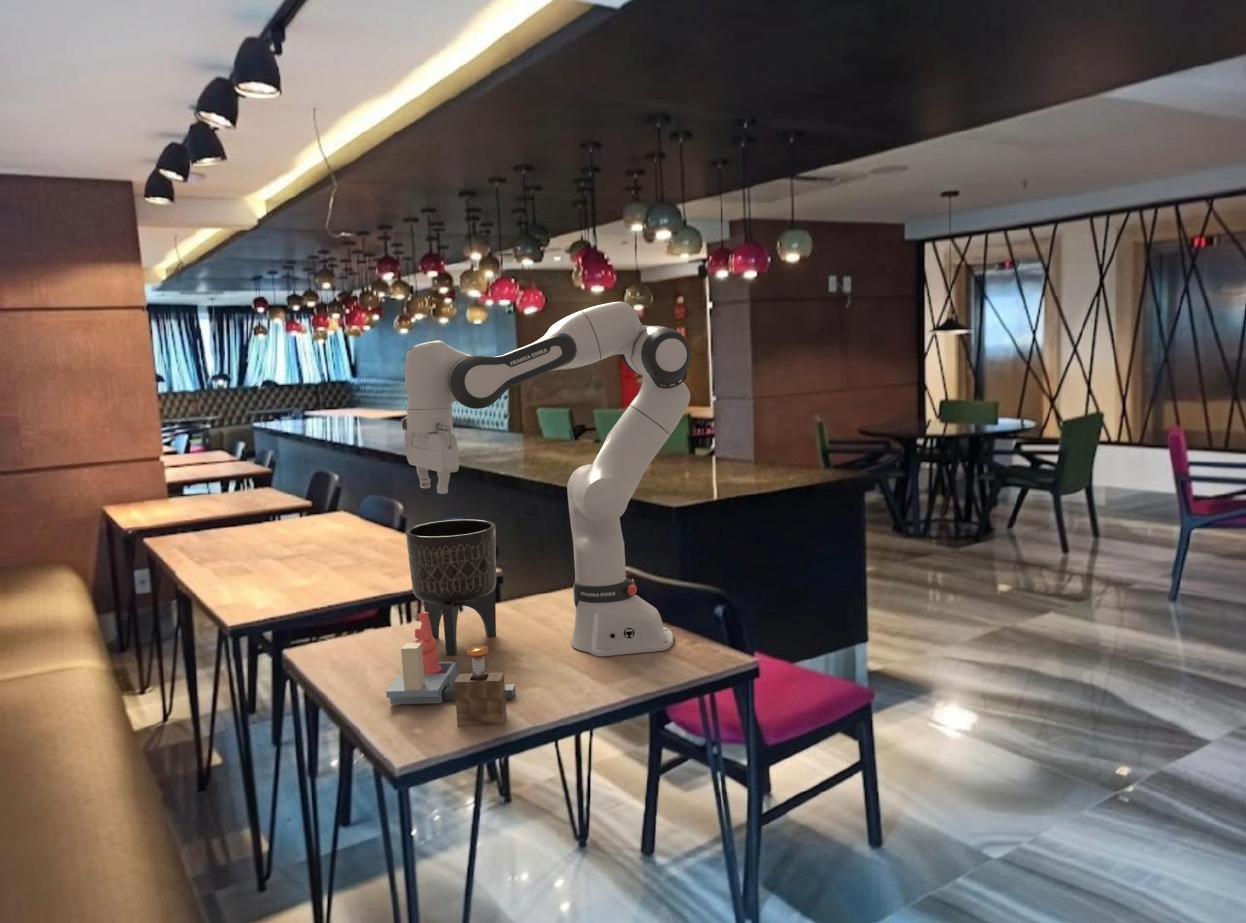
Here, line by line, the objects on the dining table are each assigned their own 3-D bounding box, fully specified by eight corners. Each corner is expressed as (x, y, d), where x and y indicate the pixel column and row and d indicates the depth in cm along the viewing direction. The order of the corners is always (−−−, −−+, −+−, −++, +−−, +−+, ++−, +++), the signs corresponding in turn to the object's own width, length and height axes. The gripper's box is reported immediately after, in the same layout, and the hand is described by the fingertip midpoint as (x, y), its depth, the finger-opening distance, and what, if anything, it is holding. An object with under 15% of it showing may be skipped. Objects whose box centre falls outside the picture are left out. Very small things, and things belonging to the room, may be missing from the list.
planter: (495, 655, 193) (487, 535, 190) (404, 659, 193) (395, 538, 190) (508, 627, 212) (501, 517, 209) (425, 630, 213) (417, 520, 209)
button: (491, 682, 160) (489, 645, 159) (488, 690, 156) (485, 652, 156) (471, 683, 160) (469, 646, 159) (467, 690, 157) (465, 653, 156)
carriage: (458, 675, 181) (454, 621, 180) (439, 707, 165) (434, 648, 164) (411, 677, 182) (407, 623, 180) (387, 708, 166) (382, 649, 164)
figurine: (410, 687, 176) (404, 613, 174) (429, 679, 181) (424, 606, 179) (429, 692, 174) (423, 617, 172) (448, 683, 178) (442, 610, 176)
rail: (515, 694, 171) (514, 683, 170) (512, 700, 168) (512, 689, 168) (401, 697, 172) (400, 686, 172) (396, 703, 169) (395, 693, 169)
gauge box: (506, 715, 161) (503, 672, 160) (502, 724, 157) (499, 680, 156) (462, 716, 161) (459, 673, 160) (457, 725, 157) (454, 682, 156)
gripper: (465, 424, 174) (468, 495, 175) (427, 419, 191) (430, 483, 192) (434, 426, 170) (438, 498, 172) (398, 421, 187) (402, 486, 189)
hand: (433, 490), depth 182 cm, fingers open, 8 cm apart
